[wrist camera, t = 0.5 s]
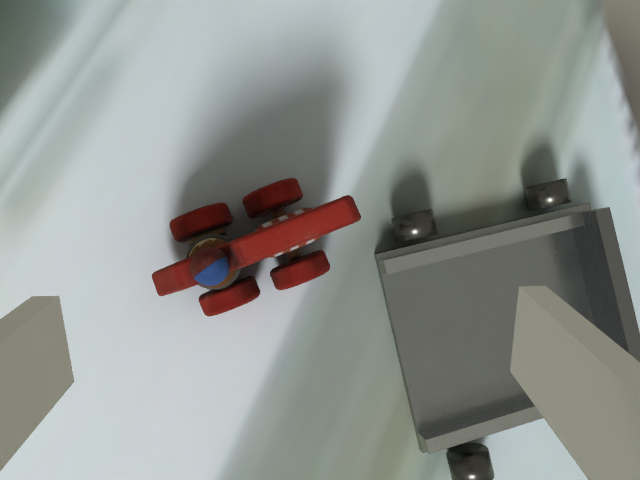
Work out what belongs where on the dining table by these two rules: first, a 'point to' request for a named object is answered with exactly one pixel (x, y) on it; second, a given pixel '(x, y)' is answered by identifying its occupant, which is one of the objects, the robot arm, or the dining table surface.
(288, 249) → the red plastic toy vehicle
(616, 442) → the robot arm
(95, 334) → the dining table surface
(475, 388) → the chassis bay
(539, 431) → the dining table surface
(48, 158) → the dining table surface
